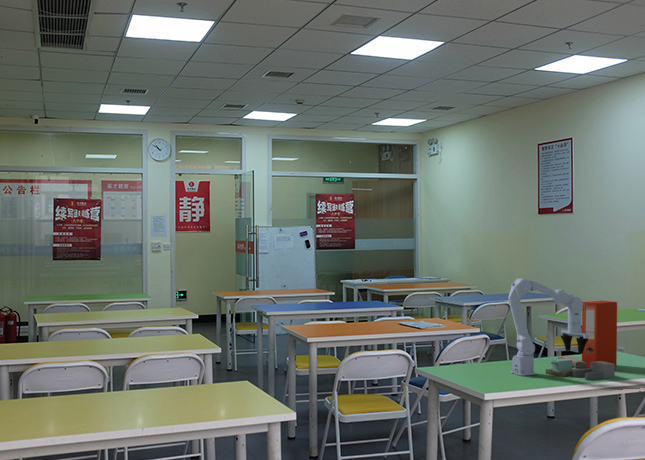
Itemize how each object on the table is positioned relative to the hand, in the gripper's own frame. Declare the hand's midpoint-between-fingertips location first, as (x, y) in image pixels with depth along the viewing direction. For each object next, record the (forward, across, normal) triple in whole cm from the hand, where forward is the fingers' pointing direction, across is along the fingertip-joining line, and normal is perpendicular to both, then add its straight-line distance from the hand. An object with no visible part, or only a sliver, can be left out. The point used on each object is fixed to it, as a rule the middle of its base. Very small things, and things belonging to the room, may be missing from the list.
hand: (574, 352), depth 297 cm
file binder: (+11, +10, -27) cm, 31 cm away
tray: (+10, +3, +4) cm, 12 cm away
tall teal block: (+10, +3, +4) cm, 11 cm away
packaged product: (+11, +13, -13) cm, 21 cm away
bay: (+10, -8, -4) cm, 13 cm away
